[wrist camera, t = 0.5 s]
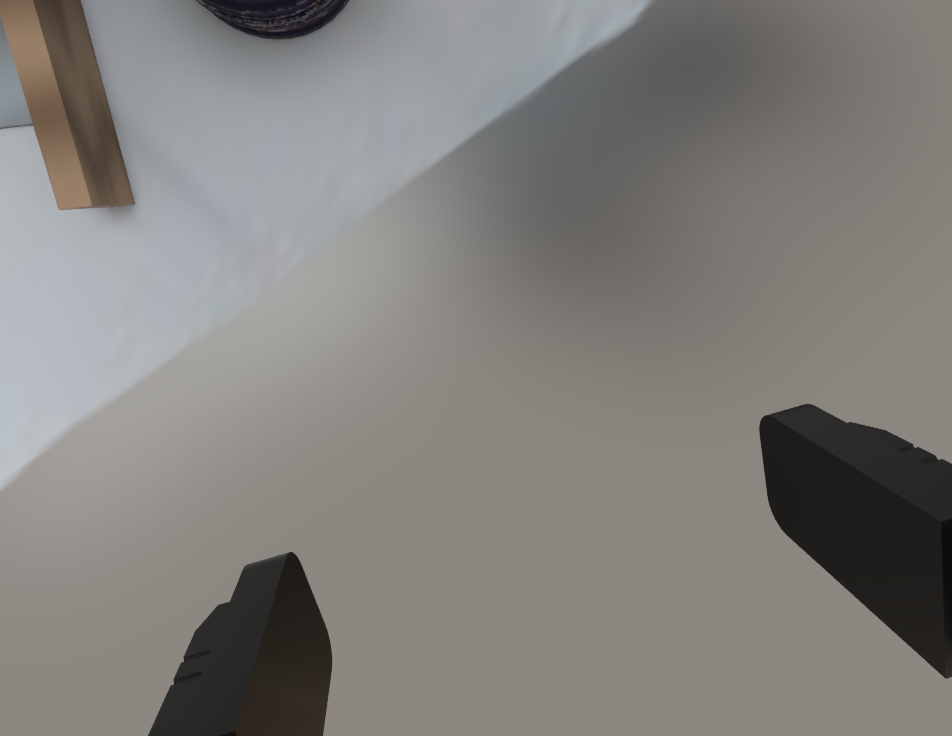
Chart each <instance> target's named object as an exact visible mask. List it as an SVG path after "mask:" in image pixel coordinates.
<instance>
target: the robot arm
mask: <svg viewBox="0 0 952 736" xmlns="http://www.w3.org/2000/svg"><path fill="white" fill-rule="evenodd" d="M759 431H760V440H761V448H762V456H763V464H764V472H765V479H766V487H767V495H768V501H769V505H770V508H771V511H772V513H773V515H774V518H775V520H776V521H777V523H778V525H779V526H780V528H781V529H782V530H783V531H784V533H785V534H786V535H787V536H788V537H789V538H791V539H792V540H793V541H794V542H795V543H796V544H797V545H798V546H799V547H801V548H802V549H803V550H804V551H805V552H806V553H807V554H808V555H809V556H811V557H812V558H813V559H814V560H815V561H816V562H817V563H818V564H819V565H820V566H822V567H823V568H824V569H825V570H826V571H827V572H828V573H829V574H830V575H832V576H833V577H834V578H835V579H836V580H837V581H838V582H839V583H840V584H841V585H843V586H844V587H845V588H846V589H847V590H848V591H849V592H851V593H852V594H853V595H854V596H855V597H856V598H857V599H858V600H859V601H860V602H861V603H863V604H864V605H865V606H866V607H867V608H868V609H869V610H870V611H871V612H873V613H874V614H875V615H876V616H877V617H878V618H879V619H880V620H882V621H883V622H884V623H885V624H886V625H887V626H888V627H889V628H890V629H891V630H892V631H894V632H895V633H896V634H897V635H898V636H899V637H900V638H901V639H902V640H903V641H905V642H906V643H907V644H908V645H909V646H910V647H911V648H912V649H913V650H915V651H916V652H917V653H918V654H919V655H920V656H921V657H922V658H924V659H925V660H926V661H927V662H928V663H929V664H930V665H931V666H932V667H933V668H934V669H936V670H937V671H938V672H939V673H940V674H941V675H942V676H943V677H944V678H949V677H952V464H951V463H949V462H947V461H945V460H943V459H941V460H938V459H937V458H936V456H935V455H933V454H931V453H929V452H927V451H925V450H923V449H921V448H919V447H917V448H914V447H913V444H911V443H909V442H907V441H906V440H904V439H901V438H900V437H898V436H896V435H893V434H892V433H890V432H888V431H885V430H882V429H878V428H873V427H869V426H865V425H861V424H856V423H852V422H849V423H845V422H844V421H842V420H840V419H838V418H837V417H835V416H833V415H831V414H829V413H827V412H825V411H823V410H822V409H820V408H818V407H816V406H814V405H812V404H804V405H801V406H798V407H794V408H791V409H787V410H784V411H780V412H777V413H773V414H770V415H766V416H764V417H763V418H762V419H761V421H760V428H759ZM331 671H332V651H331V644H330V639H329V635H328V631H327V629H326V625H325V623H324V620H323V618H322V615H321V613H320V610H319V608H318V605H317V603H316V601H315V598H314V595H313V593H312V590H311V588H310V585H309V583H308V580H307V578H306V575H305V572H304V570H303V568H302V565H301V563H300V561H299V559H298V557H297V556H296V555H295V554H294V553H293V552H289V553H286V554H282V555H279V556H276V557H272V558H268V559H265V560H261V561H258V562H254V563H251V564H248V565H246V566H245V567H244V569H243V571H242V573H241V576H240V578H239V581H238V583H237V586H236V588H235V591H234V593H233V596H232V598H231V600H230V602H227V603H224V604H220V605H218V606H217V607H216V608H215V610H214V611H213V612H212V613H211V614H210V615H209V616H208V617H207V619H206V620H205V621H204V622H203V623H202V624H201V626H200V627H199V628H198V629H197V630H196V631H195V633H194V635H193V638H192V640H191V642H190V644H189V646H188V649H187V651H186V653H185V655H184V662H182V663H181V664H180V667H179V669H178V671H177V673H176V675H175V677H174V685H171V686H170V688H169V691H168V693H167V695H166V697H165V699H164V702H163V704H162V706H161V708H160V711H159V713H158V715H157V717H156V719H155V722H154V724H153V726H152V728H151V730H150V733H149V735H148V736H323V730H324V723H325V716H326V709H327V701H328V693H329V687H330V679H331Z"/></svg>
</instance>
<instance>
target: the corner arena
mask: <svg viewBox="0 0 952 736" xmlns="http://www.w3.org/2000/svg"><path fill="white" fill-rule="evenodd" d="M25 125H33V126H34V129H35V132H36V136H37V139H38V142H39V146H40V149H41V152H42V155H43V159H44V162H45V165H46V169H47V172H48V175H49V179H50V182H51V185H52V188H53V192H54V195H55V198H56V202H57V205H58V208H59V210H66V209H83V208H100V207H111V206H119V205H127V204H135V203H134V199H133V195H132V192H131V188H130V184H129V180H128V177H127V173H126V169H125V166H124V162H123V158H122V154H121V151H120V147H119V143H118V140H117V136H116V132H115V128H114V125H113V121H112V117H111V113H110V110H109V106H108V102H107V99H106V95H105V91H104V87H103V84H102V80H101V76H100V73H99V69H98V65H97V61H96V58H95V54H94V50H93V47H92V43H91V39H90V35H89V32H88V28H87V24H86V21H85V17H84V13H83V9H82V6H81V2H80V0H0V128H8V127H16V126H25Z"/></svg>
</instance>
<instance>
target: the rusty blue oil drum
mask: <svg viewBox="0 0 952 736" xmlns="http://www.w3.org/2000/svg"><path fill="white" fill-rule="evenodd" d="M196 1H197V2H199V3H200V4H201V5H202V6H203V7H205V8H206V9H208V10H210V11H211V12H212V13H213V14H214V15H216V16H217V17H218V18H219V19H221V20H222V21H224V22H225V23H227V24H228V25H230V26H232V27H233V28H236V29H238V30H240V31H242V32H245V33H247V34H250V35H254V36H257V37H261V38H269V39H291V38H296V37H300V36H304V35H307V34H309V33H312V32H314V31H316V30H318V29H320V28H322V27H323V26H325V25H326V24H327V23H329V22H330V21H332V20H333V19H334V18H335V17H336V16H337V15H338V14H339V13H340V12H341V11H342V10H343V8H344V7H345V6H346V4H347V3H348V1H349V0H196Z"/></svg>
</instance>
